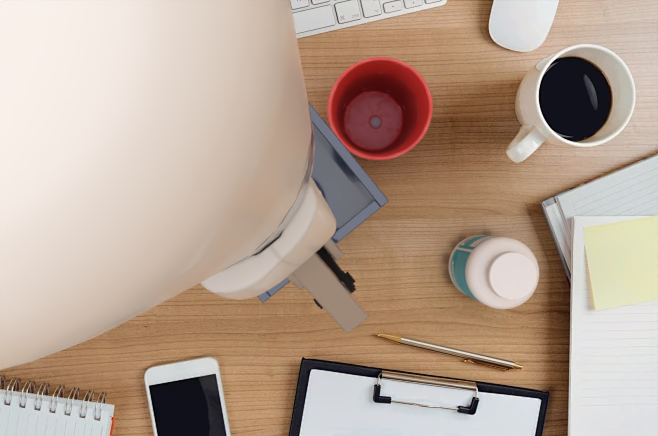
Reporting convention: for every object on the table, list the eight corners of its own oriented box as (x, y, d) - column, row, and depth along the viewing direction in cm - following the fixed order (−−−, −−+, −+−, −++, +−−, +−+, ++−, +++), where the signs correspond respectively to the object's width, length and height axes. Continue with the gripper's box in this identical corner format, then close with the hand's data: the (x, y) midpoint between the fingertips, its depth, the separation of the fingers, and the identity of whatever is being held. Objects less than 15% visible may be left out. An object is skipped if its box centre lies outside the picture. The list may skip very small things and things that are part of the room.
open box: (176, 180, 52) (160, 177, 47) (290, 88, 52) (286, 74, 47) (269, 294, 52) (262, 303, 47) (383, 202, 52) (389, 201, 47)
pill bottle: (486, 309, 72) (522, 330, 59) (434, 274, 72) (459, 287, 59) (522, 257, 72) (566, 266, 59) (470, 221, 72) (503, 223, 59)
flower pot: (425, 160, 72) (440, 152, 63) (333, 173, 72) (334, 166, 63) (413, 71, 72) (426, 49, 63) (321, 84, 72) (320, 64, 63)
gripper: (-124, -16, 17) (103, 100, 34) (269, 468, 17) (299, 341, 34) (86, -187, 17) (208, 15, 34) (479, 298, 17) (403, 256, 34)
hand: (253, 178), depth 34 cm, fingers open, 9 cm apart
